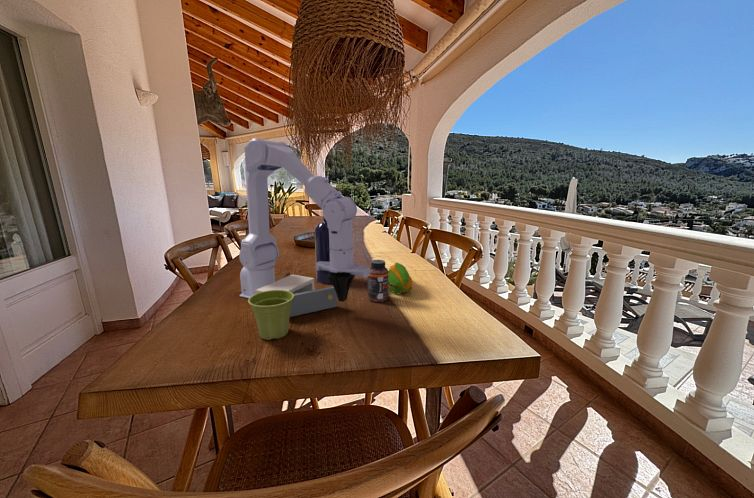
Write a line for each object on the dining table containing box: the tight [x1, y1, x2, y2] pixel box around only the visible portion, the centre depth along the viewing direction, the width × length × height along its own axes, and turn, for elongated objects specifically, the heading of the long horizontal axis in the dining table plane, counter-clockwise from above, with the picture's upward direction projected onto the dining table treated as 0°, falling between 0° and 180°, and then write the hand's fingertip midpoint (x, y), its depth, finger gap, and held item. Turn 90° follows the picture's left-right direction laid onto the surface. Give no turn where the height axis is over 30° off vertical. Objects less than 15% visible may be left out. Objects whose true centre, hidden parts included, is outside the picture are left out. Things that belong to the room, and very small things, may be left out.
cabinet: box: [256, 274, 316, 294], centre depth 81 cm, size 8×14×6 cm, turn 156°
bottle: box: [314, 215, 333, 285], centre depth 98 cm, size 9×9×30 cm
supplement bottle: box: [367, 259, 389, 303], centre depth 84 cm, size 6×6×11 cm
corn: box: [388, 262, 413, 294], centre depth 95 cm, size 7×8×20 cm
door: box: [289, 285, 338, 318], centre depth 75 cm, size 2×15×5 cm, turn 120°
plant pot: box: [247, 290, 294, 341], centre depth 65 cm, size 9×9×9 cm
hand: (342, 300), depth 75 cm, fingers closed
